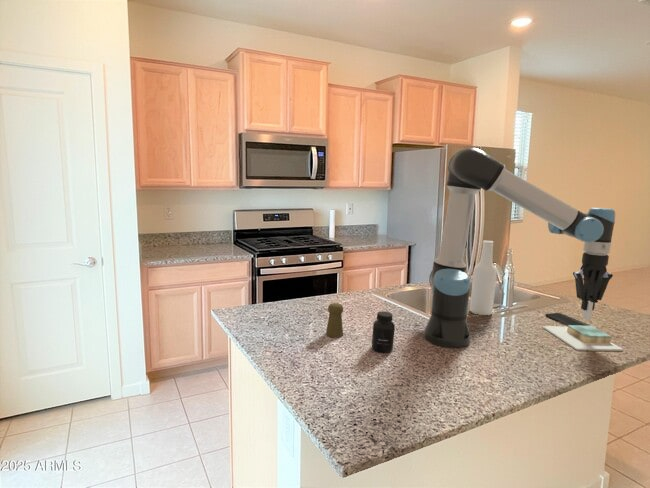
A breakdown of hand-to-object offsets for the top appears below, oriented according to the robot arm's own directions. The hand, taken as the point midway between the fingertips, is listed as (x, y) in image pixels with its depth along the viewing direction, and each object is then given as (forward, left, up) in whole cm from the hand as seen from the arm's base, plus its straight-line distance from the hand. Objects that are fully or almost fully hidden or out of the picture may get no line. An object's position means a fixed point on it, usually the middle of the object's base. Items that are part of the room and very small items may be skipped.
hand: (585, 318), depth 145 cm
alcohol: (-26, +26, -8) cm, 38 cm away
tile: (-3, 0, -6) cm, 6 cm away
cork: (-88, +1, -8) cm, 89 cm away
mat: (-1, 0, -7) cm, 7 cm away
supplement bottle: (-74, -11, -8) cm, 75 cm away
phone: (+5, +17, -8) cm, 19 cm away
